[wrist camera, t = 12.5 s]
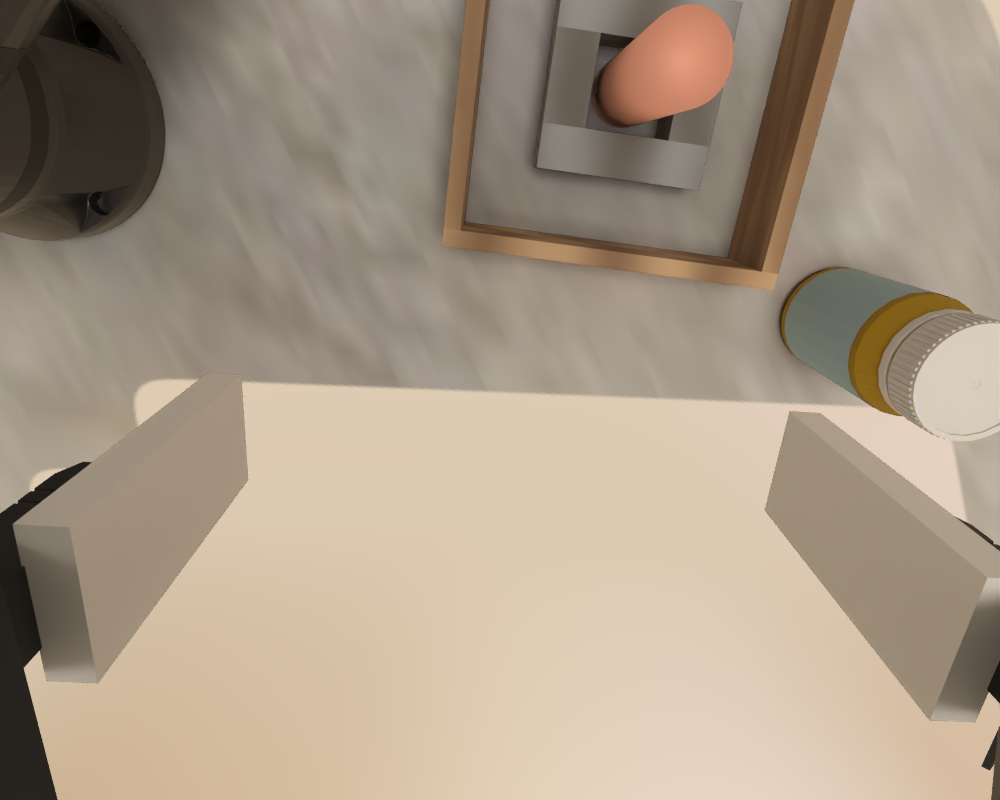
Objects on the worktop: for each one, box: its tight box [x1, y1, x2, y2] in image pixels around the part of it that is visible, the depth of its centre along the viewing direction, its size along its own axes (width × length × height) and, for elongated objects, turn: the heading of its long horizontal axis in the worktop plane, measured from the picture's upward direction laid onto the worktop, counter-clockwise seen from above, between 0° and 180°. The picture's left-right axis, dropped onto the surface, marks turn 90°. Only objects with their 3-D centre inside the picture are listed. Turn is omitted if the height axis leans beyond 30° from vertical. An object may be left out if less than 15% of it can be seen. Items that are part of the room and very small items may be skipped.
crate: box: [442, 0, 854, 290], centre depth 38 cm, size 20×20×6 cm
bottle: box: [781, 267, 1000, 441], centre depth 38 cm, size 7×7×15 cm
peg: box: [592, 4, 734, 128], centre depth 34 cm, size 4×4×14 cm
